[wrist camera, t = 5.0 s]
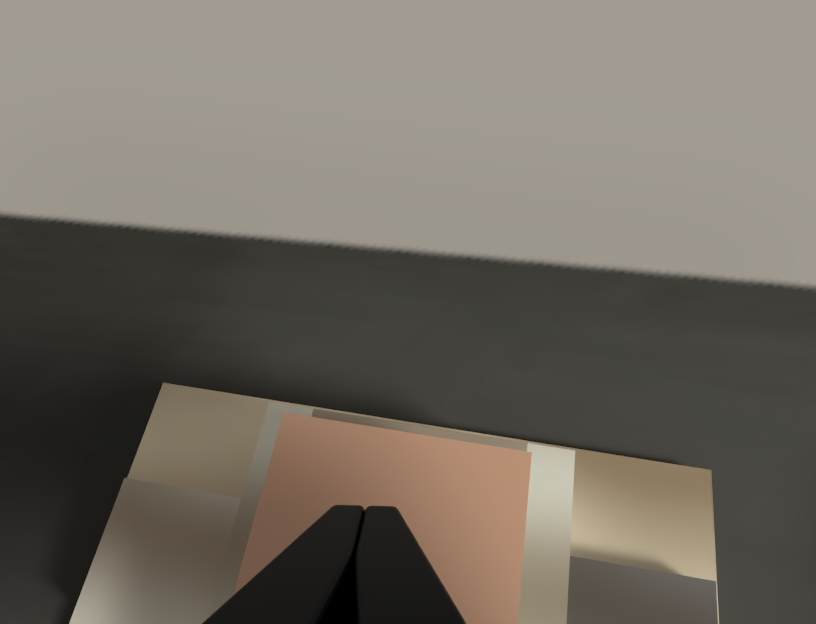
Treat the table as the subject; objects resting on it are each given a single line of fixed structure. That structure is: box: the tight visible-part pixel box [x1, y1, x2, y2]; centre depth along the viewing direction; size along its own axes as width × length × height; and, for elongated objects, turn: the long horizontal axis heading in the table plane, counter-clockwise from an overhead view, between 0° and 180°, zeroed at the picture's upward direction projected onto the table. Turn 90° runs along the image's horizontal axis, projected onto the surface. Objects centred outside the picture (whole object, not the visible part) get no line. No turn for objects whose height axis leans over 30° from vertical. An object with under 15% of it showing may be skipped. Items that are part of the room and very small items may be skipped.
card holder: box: [69, 383, 719, 624], centre depth 17 cm, size 11×18×5 cm, turn 80°
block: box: [233, 412, 532, 624], centre depth 15 cm, size 5×5×8 cm
